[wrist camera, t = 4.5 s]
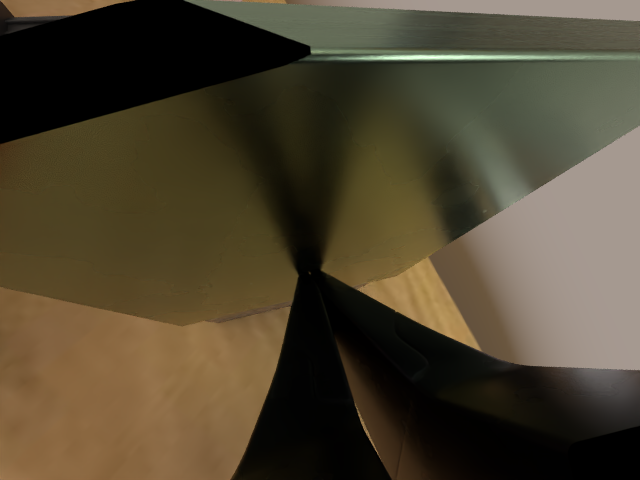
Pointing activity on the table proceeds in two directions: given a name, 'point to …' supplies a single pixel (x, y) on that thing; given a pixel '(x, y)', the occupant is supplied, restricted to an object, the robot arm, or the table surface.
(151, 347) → the table surface
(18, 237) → the lid
